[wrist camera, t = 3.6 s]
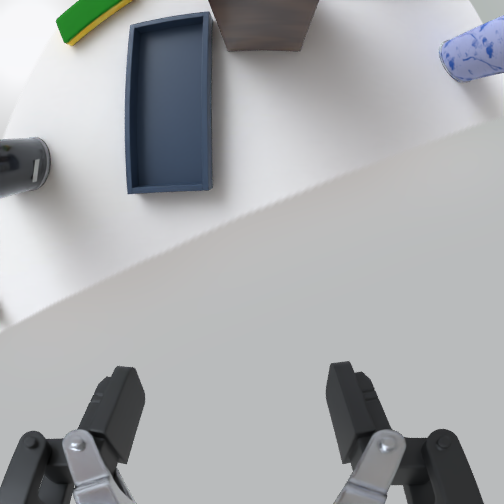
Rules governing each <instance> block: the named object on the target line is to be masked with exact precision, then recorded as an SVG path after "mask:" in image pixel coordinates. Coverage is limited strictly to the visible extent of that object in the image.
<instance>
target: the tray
mask: <svg viewBox="0 0 504 504" xmlns="http://www.w3.org/2000/svg"><path fill="white" fill-rule="evenodd" d="M212 25H213V20H212V17H211V15H210V12H204V13H203V12H200V13H192V14H184V15H178V16H172V17H166V18H160V19H155V20H150V21H146V22H141V23H137V24H133V25H130V32H129V42H128V54H127V68H126V88H125V155H126V177H127V192H128V194H138V193H155V192H176V191H202V190H210V189H211V188H213V183H212V129H211V75H212Z"/></svg>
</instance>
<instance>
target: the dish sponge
mask: <svg viewBox="0 0 504 504" xmlns="http://www.w3.org/2000/svg"><path fill="white" fill-rule="evenodd" d="M132 1H133V0H79V1H77V2H76V3H75V4H74V5H73V6H71V7H70V8H69V9H68V10H67V11H65V12H64V13H63V14H62V15H61V16H60V17H59V18H58V19H57V20H56V23H57V26H58V28H59V31H60V33H61V36H62V38H63V41H64V43H66V44H69V45H71V46H73V45H74V44H75V43H76V42H78V41H79V40H80V39H81V38H82V37H84V36H85V35H86V34H87V33H89V32H90V31H91V30H92V29H94V28H95V27H96V26H97V25H99V24H100V23H101V22H103V21H104V20H105V19H107V18H108V17H110V16H111V15H112V14H114V13H115V12H117V11H118V10H119V9H121V8H122V7H124V6H125V5H127V4H128V3H130V2H132Z"/></svg>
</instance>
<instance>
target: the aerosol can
mask: <svg viewBox="0 0 504 504" xmlns="http://www.w3.org/2000/svg"><path fill="white" fill-rule="evenodd" d="M439 54H440V59H441V62H442V64H443V66H444V68H445V69H446V71H447V72H448V73H449V74H450V75H451V76H452V77H453V78H454V79H456V80H457V81H459V82H462V83H465V82H470V81H471V80H474V79H478V78H482V77H487V76H491V75H495V74H500V73H504V15H503V16H501V17H498V18H496V19H494V20H491V21H489V22H487V23H485V24H482V25H480V26H478V27H476V28H474V29H472V30H470V31H467V32H465V33H463V34H461V35H459V36H457V37H455V38H453V39H451V40H447V41H445V42H443V43H442V44H441V46H440V50H439Z"/></svg>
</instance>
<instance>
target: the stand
mask: <svg viewBox="0 0 504 504" xmlns="http://www.w3.org/2000/svg"><path fill="white" fill-rule="evenodd" d="M208 1H209V3H210V6H211V8H212V11H213V14H214V16H215V19H216V21H217V24H218V27H219V29H220V32H221V35H222V37H223V40H224V43H225V45H226V48H227V51H250V50H277V51H301V48H302V45H303V42H304V40H305V37H306V34H307V32H308V29H309V26H310V24H311V21H312V18H313V16H314V13H315V10H316V8H317V5H318V2H319V0H208Z"/></svg>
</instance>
